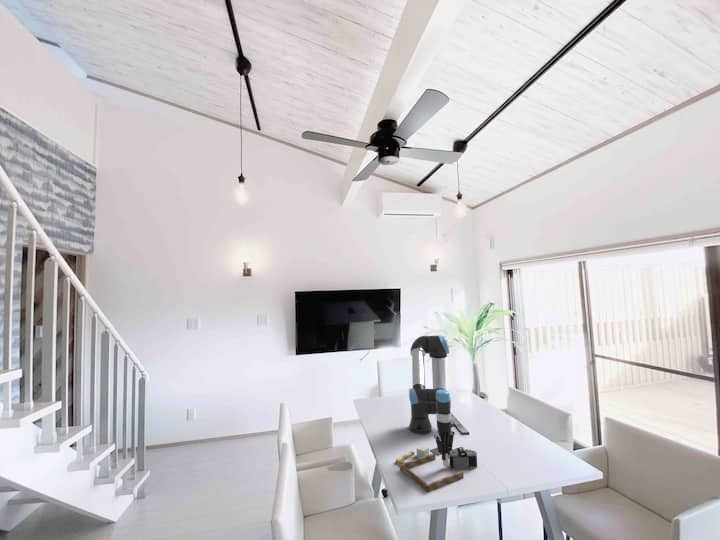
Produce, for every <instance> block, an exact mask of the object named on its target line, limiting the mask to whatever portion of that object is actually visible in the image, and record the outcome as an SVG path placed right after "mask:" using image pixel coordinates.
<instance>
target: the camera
mask: <svg viewBox="0 0 720 540" xmlns="http://www.w3.org/2000/svg"><path fill="white" fill-rule="evenodd" d="M477 454H478V452H477V451H476V450H472V449H467V448H466V449H465V448H464V447H462V446H460V447H456V448H454V449H453V448H452V451H450V454H449V459H448V463H449V467H450V469H477V468H478V456H477Z"/></svg>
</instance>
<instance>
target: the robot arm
mask: <svg viewBox="0 0 720 540" xmlns="http://www.w3.org/2000/svg"><path fill="white" fill-rule="evenodd" d="M426 354H428V356H429V358H431V371H432V372H431V375H432V388H426V371H425V356H426ZM448 354H450V349H449V344H448V339H447V337H446V336H444V335H422V336H421V335H420V336H419V337H417V338H416V339H414V341H413V342H412V344H411V347H410V356H411V361H412V362H411V363H412V364H411V366H412V368H411V369H412V372H411V374H412V379H411V380H412V388H409V389H408V391H409V392H408V393H409V394H408V396H409V397H408V399H409V401H410V413H411V414H410V415H411V416H410V417H411V418H410V421H409V425H408V427H409V428H408V429H409V431H410V432H412V433H414V434H419V435H421V434H422V435H424V434H429V433H431V432H432V430H433V428H432V427H433V426H432V423H431V421H430V418H429V417H430V416H429V415H436V427H437V432H436V434H434V435H433V438H434V440H435V443H436V448H438V452H439V453H441V460H442V465H443V466H444V467H445V468H449V467H450V462H449V454H450V451H452V450H453V444H454V437H455V434H456V432H455V431H454V430H452V413H451V408H452V407H451V406H452V399H451V398H452V397H451V393H450V390H447V385H446V384H447V383H446V382H447V381H446V358H447V357H448Z"/></svg>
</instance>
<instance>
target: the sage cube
mask: <svg viewBox="0 0 720 540" xmlns="http://www.w3.org/2000/svg"><path fill="white" fill-rule="evenodd" d="M427 455H430V448H429V446H425V445H419V446H418V447H417V448H416V459H418V458H421V457H424V456H427Z"/></svg>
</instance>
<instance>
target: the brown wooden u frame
mask: <svg viewBox="0 0 720 540" xmlns="http://www.w3.org/2000/svg"><path fill="white" fill-rule="evenodd" d="M435 460H436V454H434V453H433V452H432V453H429V455H427V456H424V457H421V458H416V459H413V460H410V461H406V463H404V464H401V465H399V471H400V472H401V473H403V474H404V475H405V476H407V478H409V479H410V480H411V481H412V482H414V483H415V484H417V485H418V486H419V487H420V488H421V489H423V490H424V491H425V492H427V493H430V492H432V491H435V490H438V489H441V488H443V487H445V486H447V485H450V484H452V483H454V482H457V481H460V480H461V479H464V471H463V470H459V471H457V472H454V473H453V474H450V475H447V476H445V477H442V478H440V479H437V480H433V481H432V482H429V483H427V482H426V481H425V480H424V479H422V478H421V477H419V475H417V474H416V473H414V472H413V471H411V469H413V468H416V467H419V466H421V465H425V464H426V463H429V462H432V461H435Z"/></svg>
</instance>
